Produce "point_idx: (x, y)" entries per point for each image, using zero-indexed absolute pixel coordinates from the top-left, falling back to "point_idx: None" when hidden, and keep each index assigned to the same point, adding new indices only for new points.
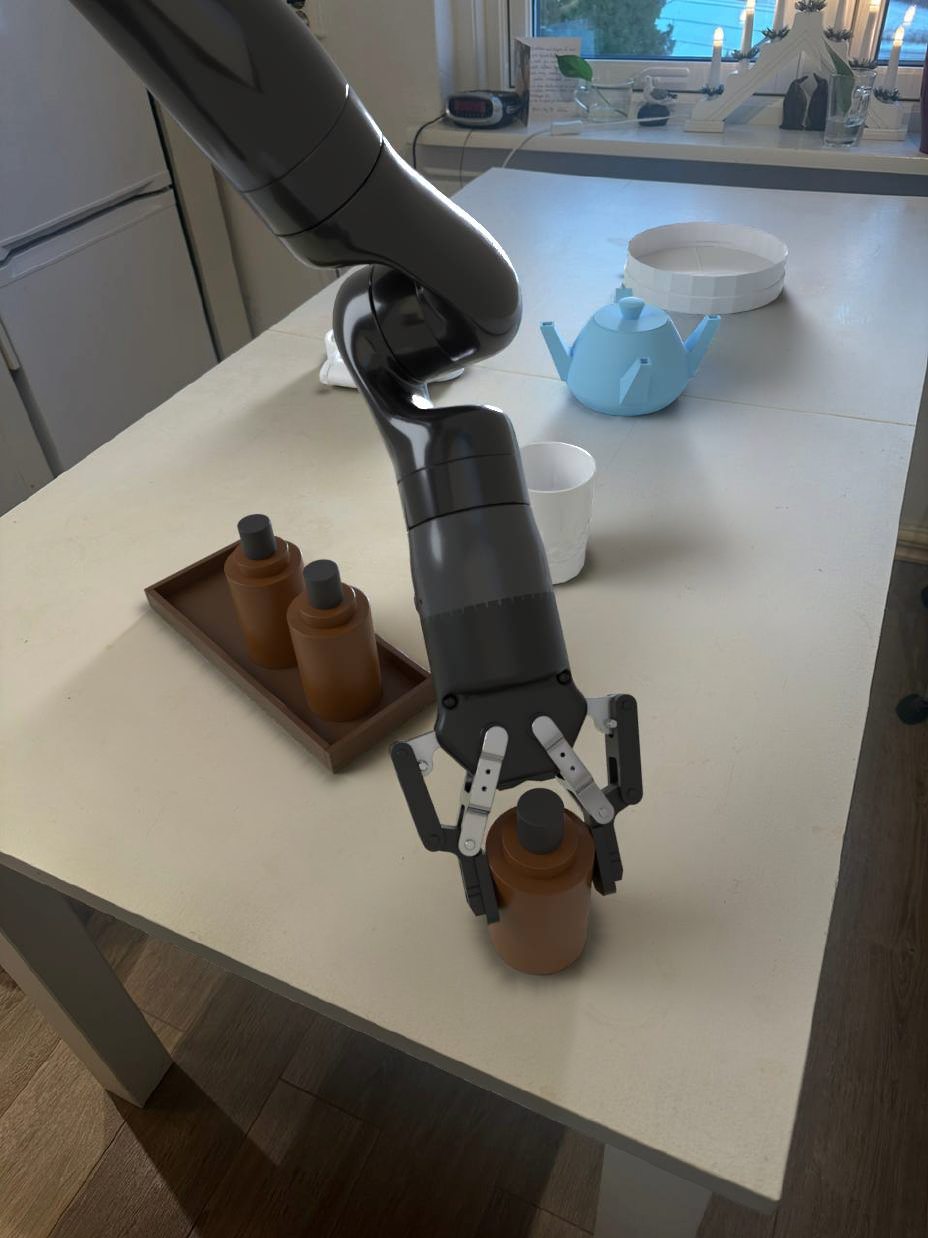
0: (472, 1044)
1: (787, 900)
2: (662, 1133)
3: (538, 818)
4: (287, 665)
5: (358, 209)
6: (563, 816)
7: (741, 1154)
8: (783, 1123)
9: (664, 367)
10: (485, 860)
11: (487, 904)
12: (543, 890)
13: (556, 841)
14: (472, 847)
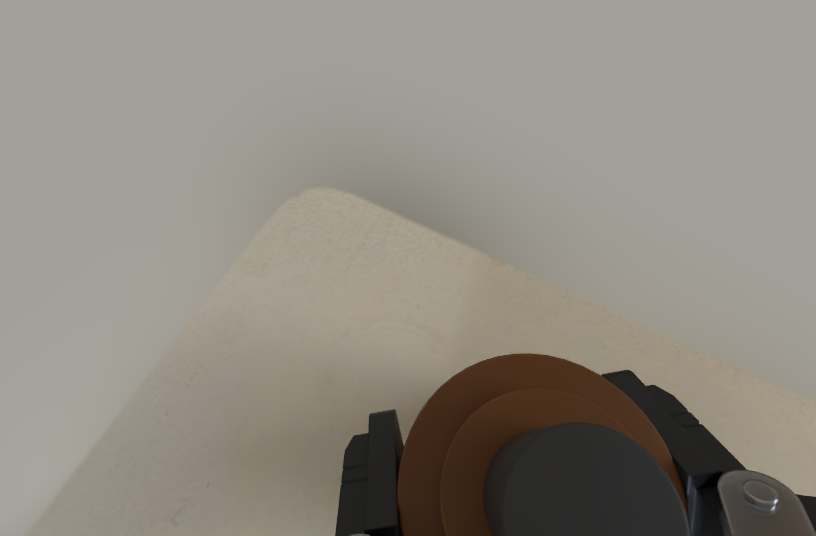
0: (586, 315)
1: (122, 474)
2: (385, 218)
3: (601, 460)
4: None
5: None
6: (501, 474)
7: (317, 198)
8: (268, 219)
9: None
10: (686, 462)
11: (640, 391)
12: (534, 365)
13: (512, 441)
14: (750, 483)
